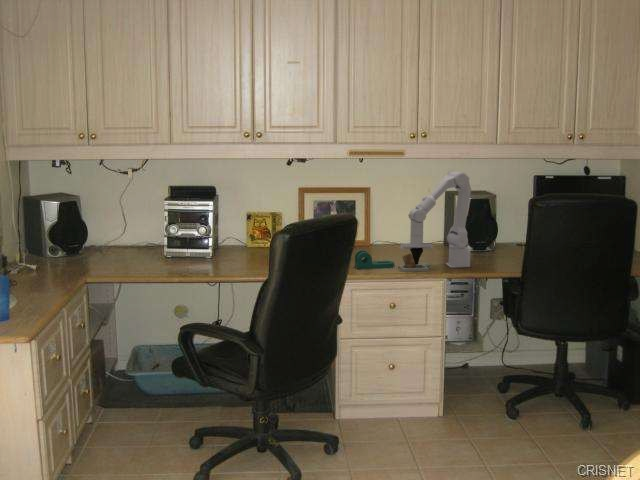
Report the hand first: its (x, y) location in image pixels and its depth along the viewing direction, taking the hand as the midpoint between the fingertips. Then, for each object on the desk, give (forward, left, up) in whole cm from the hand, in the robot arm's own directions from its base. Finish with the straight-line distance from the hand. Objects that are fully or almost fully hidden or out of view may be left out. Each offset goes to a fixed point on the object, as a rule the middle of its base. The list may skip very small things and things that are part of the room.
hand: (416, 264), depth 318 cm
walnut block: (+2, 0, -2) cm, 3 cm away
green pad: (-6, -8, -2) cm, 10 cm away
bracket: (+18, -7, -3) cm, 19 cm away
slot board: (+1, 0, -2) cm, 3 cm away
